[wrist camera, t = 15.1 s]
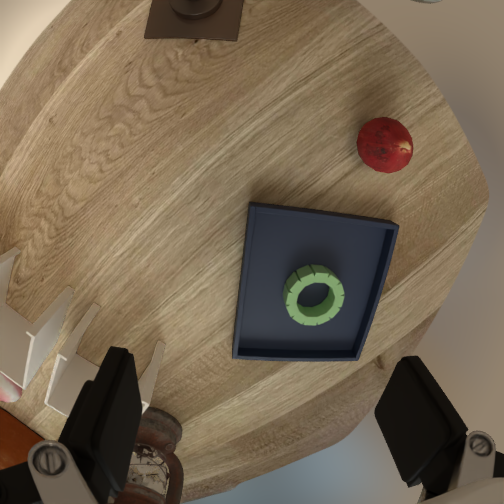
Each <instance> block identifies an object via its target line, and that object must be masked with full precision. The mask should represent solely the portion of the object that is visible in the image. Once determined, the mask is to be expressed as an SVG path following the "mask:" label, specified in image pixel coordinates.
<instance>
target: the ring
mask: <svg viewBox="0 0 504 504" xmlns="http://www.w3.org/2000/svg"><path fill="white" fill-rule="evenodd" d="M296 271H297V273H296V272H293V273H292V275H291V276H290V277H289V278H288V279H287V280H286V283H285V285H284V290H283V299H284V302H285V305H286V308H287V310H288V312H289V315H290V317H292V319H294V320H295V321H297V322H299V323H300V324H304V325H316V324H318V325H319V324H322V323H324V322H327V321H329V320H330V318H333V317H334V316H335V315H336V314H337V313H338V311H339V310H340V308H339V307H342V304H343V300H344V297H345V296H344V294H345V293H344V290H343V286H342V283H341V282H340V280H339V279H338V278H337V276H336V275H335V274H334V272H332V271H331V270H330V269H328V268H327V267H324V266H323V265H313V264H311V265H310V267H309V265H307V266H304V267H302V268H300V269H297V270H296ZM315 282H316V283H326V284H327V285H328V286H329V292H328V296H327V297H326V299H325V300H324V301H323V302H322V303H321V304H319V305H316V306H314V307H303V306H301V305H300V304H298V303H297V298H298V294H299V293H300V292H301V291H302V290H303V288H304V287H305V286H308V285H310V284H312V283H315ZM329 317H330V318H329Z"/></svg>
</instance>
